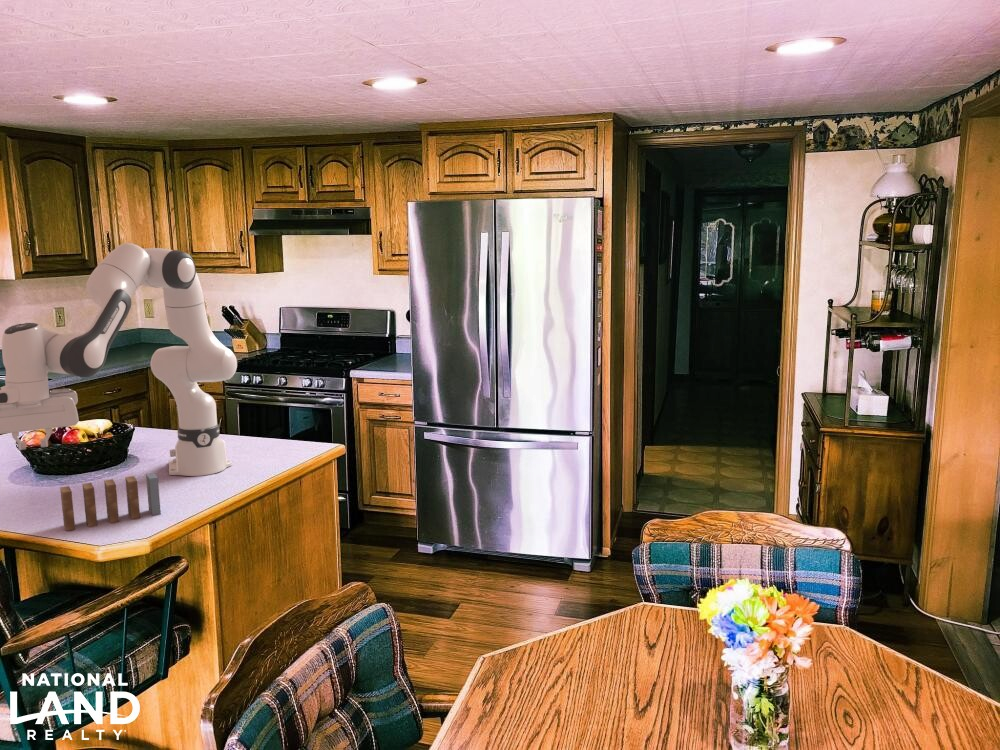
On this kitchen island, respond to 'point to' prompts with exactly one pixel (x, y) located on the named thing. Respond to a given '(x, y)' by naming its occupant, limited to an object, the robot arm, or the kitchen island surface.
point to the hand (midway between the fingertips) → (33, 448)
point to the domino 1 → (67, 508)
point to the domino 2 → (90, 504)
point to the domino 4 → (132, 497)
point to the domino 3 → (111, 501)
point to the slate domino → (153, 494)
